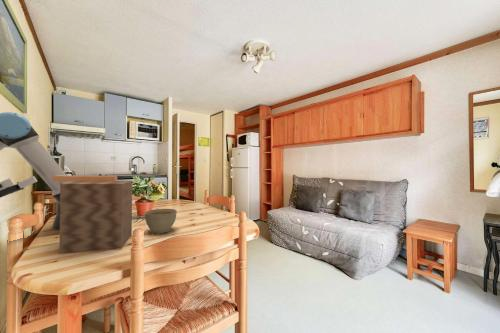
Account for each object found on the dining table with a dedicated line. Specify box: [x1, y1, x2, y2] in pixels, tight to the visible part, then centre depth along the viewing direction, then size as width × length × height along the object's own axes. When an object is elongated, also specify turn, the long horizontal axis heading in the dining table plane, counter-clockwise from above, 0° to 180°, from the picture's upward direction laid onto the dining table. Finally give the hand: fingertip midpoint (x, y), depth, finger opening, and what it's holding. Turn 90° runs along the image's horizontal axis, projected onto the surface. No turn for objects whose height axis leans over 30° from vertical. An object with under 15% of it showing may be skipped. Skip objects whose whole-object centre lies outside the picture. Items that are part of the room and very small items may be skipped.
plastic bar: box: [52, 174, 118, 182], centre depth 99 cm, size 24×4×2 cm, turn 107°
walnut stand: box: [58, 179, 133, 255], centre depth 97 cm, size 22×18×28 cm
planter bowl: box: [144, 208, 178, 235], centre depth 116 cm, size 16×16×11 cm
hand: (24, 179), depth 92 cm, fingers open, 13 cm apart
